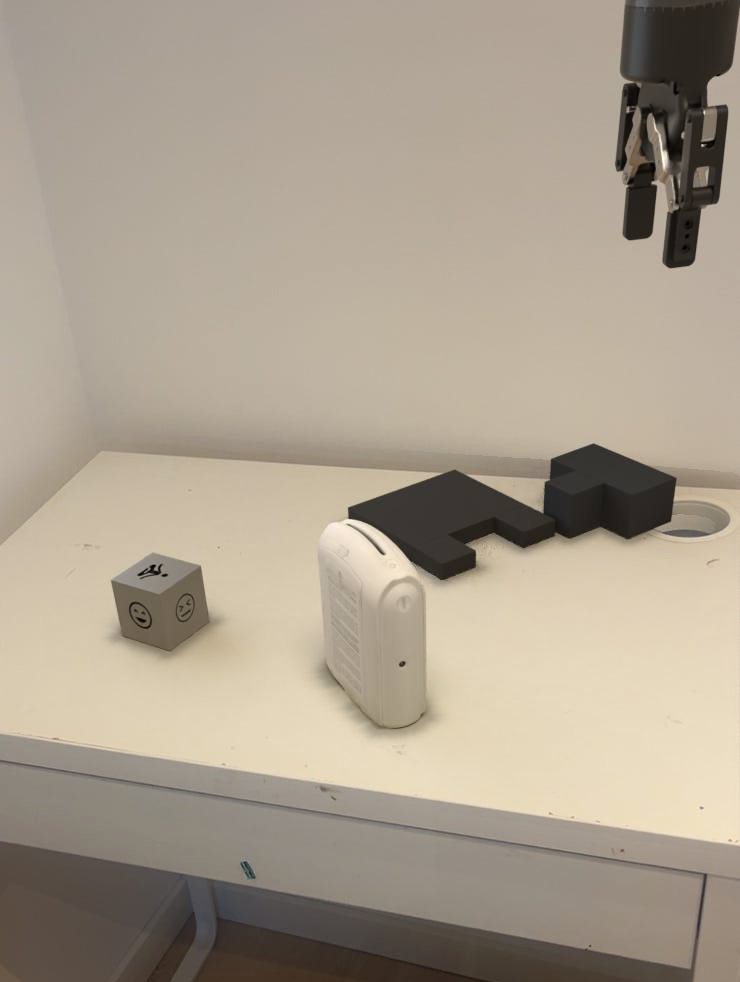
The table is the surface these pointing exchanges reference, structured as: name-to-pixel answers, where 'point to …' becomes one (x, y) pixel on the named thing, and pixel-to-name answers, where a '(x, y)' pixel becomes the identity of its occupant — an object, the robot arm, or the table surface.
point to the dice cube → (160, 601)
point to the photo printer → (373, 622)
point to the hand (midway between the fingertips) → (656, 251)
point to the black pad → (450, 520)
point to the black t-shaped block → (606, 493)
